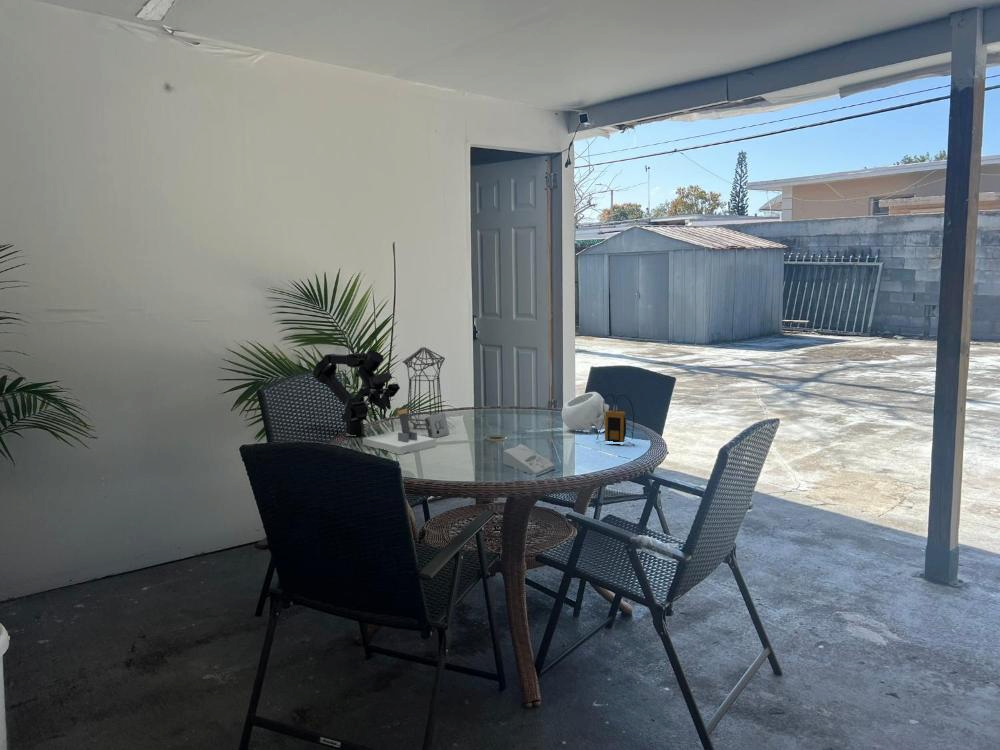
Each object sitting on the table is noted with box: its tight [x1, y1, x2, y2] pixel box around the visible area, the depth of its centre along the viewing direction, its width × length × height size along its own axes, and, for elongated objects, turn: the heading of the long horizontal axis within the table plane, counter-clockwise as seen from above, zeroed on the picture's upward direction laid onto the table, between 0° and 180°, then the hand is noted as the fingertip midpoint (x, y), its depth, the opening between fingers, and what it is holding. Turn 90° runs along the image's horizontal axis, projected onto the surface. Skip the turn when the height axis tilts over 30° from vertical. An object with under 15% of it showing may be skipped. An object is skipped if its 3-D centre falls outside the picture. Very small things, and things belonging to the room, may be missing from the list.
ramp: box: [502, 443, 555, 475], centre depth 261 cm, size 28×16×5 cm, turn 12°
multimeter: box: [595, 393, 635, 442], centre depth 295 cm, size 15×10×20 cm
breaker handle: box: [397, 408, 411, 437], centre depth 288 cm, size 2×3×11 cm, turn 137°
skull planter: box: [561, 391, 610, 432], centre depth 317 cm, size 14×20×19 cm
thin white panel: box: [362, 430, 437, 455], centre depth 291 cm, size 22×18×6 cm
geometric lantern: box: [402, 346, 446, 430], centre depth 323 cm, size 16×16×35 cm
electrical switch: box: [424, 412, 450, 439], centre depth 309 cm, size 9×5×9 cm, turn 141°
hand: (387, 409), depth 294 cm, fingers open, 2 cm apart
